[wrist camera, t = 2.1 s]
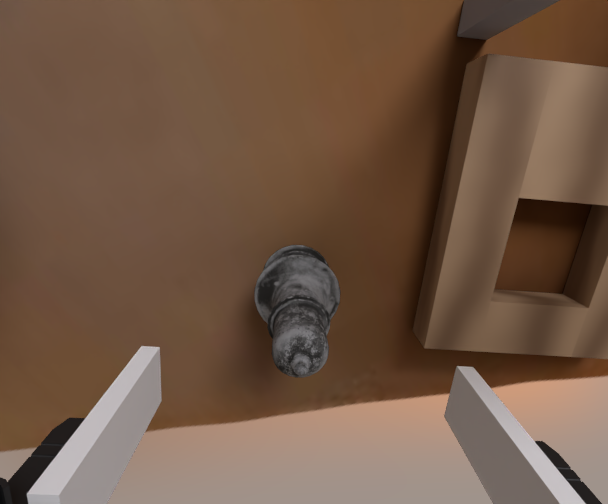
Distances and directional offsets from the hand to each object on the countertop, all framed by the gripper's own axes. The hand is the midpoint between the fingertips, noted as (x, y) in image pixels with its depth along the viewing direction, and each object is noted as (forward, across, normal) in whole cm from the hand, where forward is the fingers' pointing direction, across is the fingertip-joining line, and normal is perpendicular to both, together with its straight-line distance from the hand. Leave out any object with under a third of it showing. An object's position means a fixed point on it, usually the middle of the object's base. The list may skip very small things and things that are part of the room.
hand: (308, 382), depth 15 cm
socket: (+12, +18, +6) cm, 22 cm away
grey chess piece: (+12, 0, 0) cm, 13 cm away
